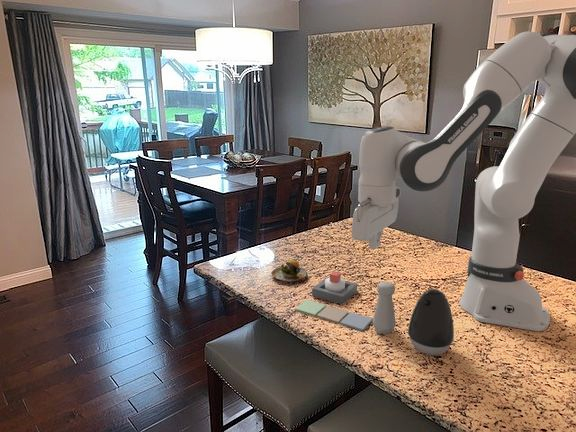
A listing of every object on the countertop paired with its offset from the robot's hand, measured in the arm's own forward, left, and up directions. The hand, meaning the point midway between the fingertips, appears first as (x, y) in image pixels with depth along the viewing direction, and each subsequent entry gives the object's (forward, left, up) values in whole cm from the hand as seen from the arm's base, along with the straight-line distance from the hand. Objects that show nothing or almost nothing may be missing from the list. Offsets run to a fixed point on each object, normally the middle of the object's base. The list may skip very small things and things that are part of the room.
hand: (374, 247), depth 110 cm
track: (+10, +3, -21) cm, 23 cm away
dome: (+15, -9, -20) cm, 27 cm away
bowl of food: (+33, -12, -21) cm, 41 cm away
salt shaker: (-5, +3, -21) cm, 22 cm away
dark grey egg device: (-17, +5, -21) cm, 27 cm away
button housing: (+15, -9, -21) cm, 27 cm away
